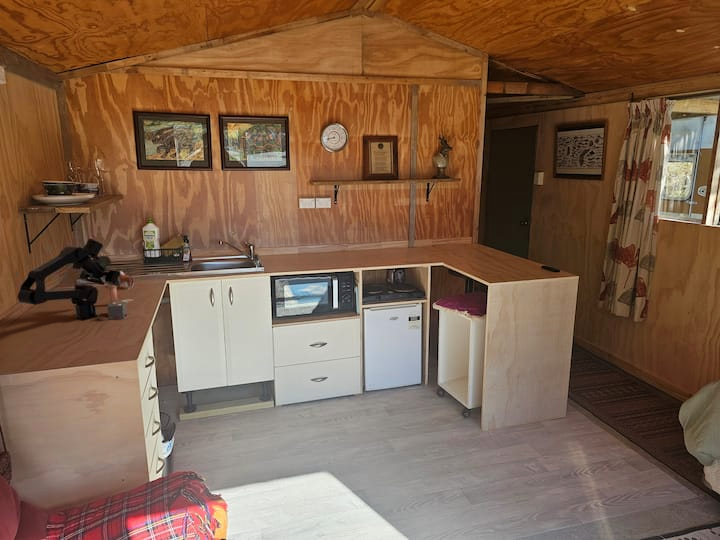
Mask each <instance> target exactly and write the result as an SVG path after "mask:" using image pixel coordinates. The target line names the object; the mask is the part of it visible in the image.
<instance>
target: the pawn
mask: <svg viewBox="0 0 720 540" xmlns="http://www.w3.org/2000/svg"><path fill="white" fill-rule="evenodd" d="M107 287H108V291H109V304H110V303H113V302H119V299H118V293H117V292H118V291H117V288H118V287H117V286H114V285H110V284H108V283H107Z"/></svg>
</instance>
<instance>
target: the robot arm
mask: <svg viewBox="0 0 720 540" xmlns="http://www.w3.org/2000/svg"><path fill="white" fill-rule="evenodd" d="M103 247H104V245H103V243H101V242H99V241H97V240H94V239H93V238H88V240H87V241H86V243H85V245H84V246H83V248H82V247H81V246H71V245H68V246H66V247H65V248H63V249H62V250H61V251H60V253H59V254H58V255H57V256H55V257H54V258H52V259H51V260H49V261H47V262H45V263H44V264H42V265H40V266H39V267H37V268H35V269H32V270H30V271H29V272H28V275H27V277H26V279H25V280H24V281H23V283H22V284H21V285H20V289H19V292H18V294H17V299H18V302H20V304H28V305H35V306H36V305H37V306H38V305H40V304H45V303H46V302H49V301H60V300H70V299H71V303H72V304H73V305H75V311H76V312H75V313H76V315H75V316H74V318H75V319H78V320H80V321H84V320H85V321H86V320H89V319H93V318H96V317H97V318H98V315H96V314H97V312H96V310H97V309H96V305H95V304H97V303H98V297H99V290H98V288H97V287H94V285H92V284H97V285H100V286H101V285H102V286H104V285H105V282H106V284H107V285H108V284H110V285H114V286H117V287H116V288H121V287H120V280H119V276H120V274H121V273H120V271H119V270H118V269H109V270H108V271H107V269H108V268H107V267H108V266H109V265H111V264H112V260H111V258H110V257H109V255H99V254H100V252H101V251H102V249H103ZM70 264H72V269H73V270H82V271H81V273H80V274H79V279H80V280H81V281H83V282H87V283H92V284H85V283H83V284H82V283H81V284H74V288H70V289H66V288H65V289H52V290H46V283H45V282H46V278H48V277H49V276H50V275H52V274H54V273H55V272H57V271H59V270H61V269H62V268H64V267H65V266H68V265H70ZM102 278H104V280H102ZM104 281H105V282H104ZM34 283H35V286H36V287H35V289H33V288H31V287H32V286H33V285H34Z"/></svg>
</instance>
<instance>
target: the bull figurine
mask: <svg viewBox="0 0 720 540" xmlns="http://www.w3.org/2000/svg"><path fill="white" fill-rule="evenodd" d="M119 272H120V273H121V274H120V276H119V277H118V281H119V283H120V287H119V288H122V287H123V286H122V285H123V284H124V285H125V286H124V287H127V290H130V289H132V288H133V287H134V284H135V283H134V276H132V275H128V274H127V273H126V272H123V271H119Z"/></svg>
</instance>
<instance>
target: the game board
mask: <svg viewBox="0 0 720 540" xmlns="http://www.w3.org/2000/svg"><path fill="white" fill-rule="evenodd" d="M131 301H133V299H130V298H127V299H123V300H121V301H119V302H126V303H129V302H131Z"/></svg>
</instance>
